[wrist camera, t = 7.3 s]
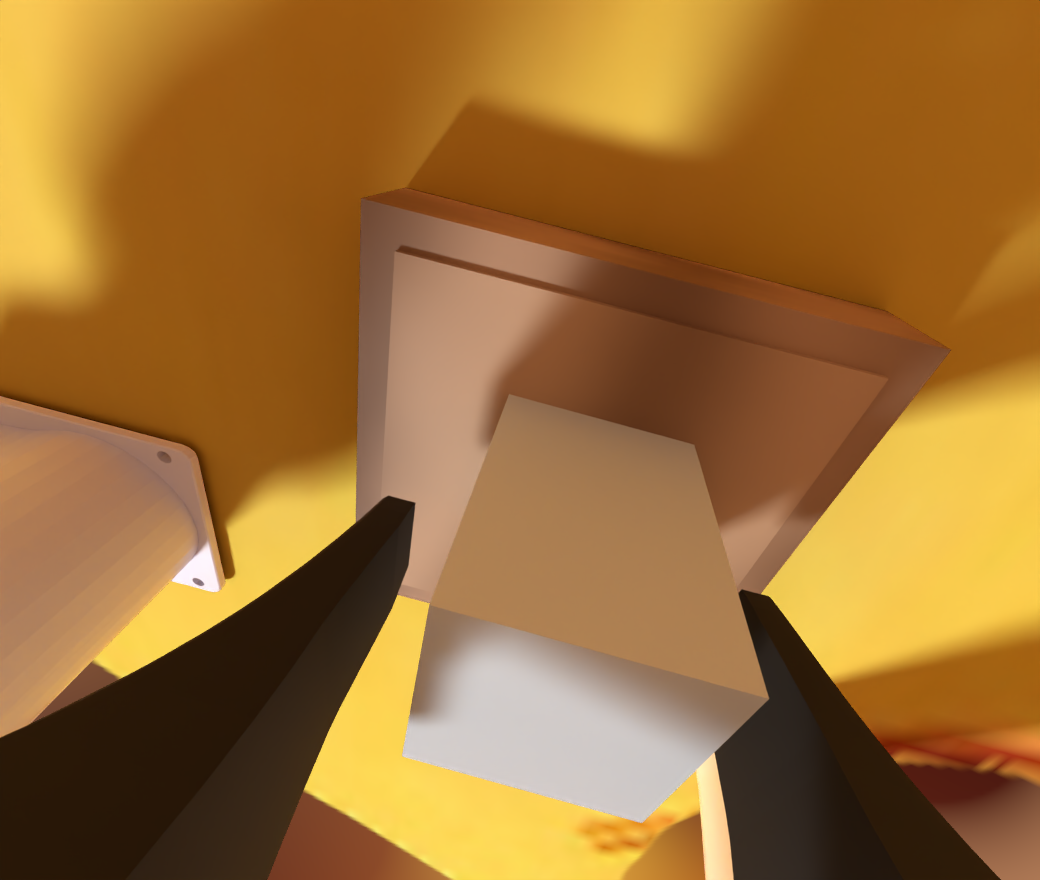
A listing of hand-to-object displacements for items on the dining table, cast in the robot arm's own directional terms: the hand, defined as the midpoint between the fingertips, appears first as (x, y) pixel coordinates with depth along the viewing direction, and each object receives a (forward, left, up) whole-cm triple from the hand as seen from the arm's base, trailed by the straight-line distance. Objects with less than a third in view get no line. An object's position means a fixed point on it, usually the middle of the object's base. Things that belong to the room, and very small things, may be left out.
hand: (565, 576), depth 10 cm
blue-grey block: (0, 0, -2) cm, 3 cm away
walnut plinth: (0, 0, -5) cm, 5 cm away
